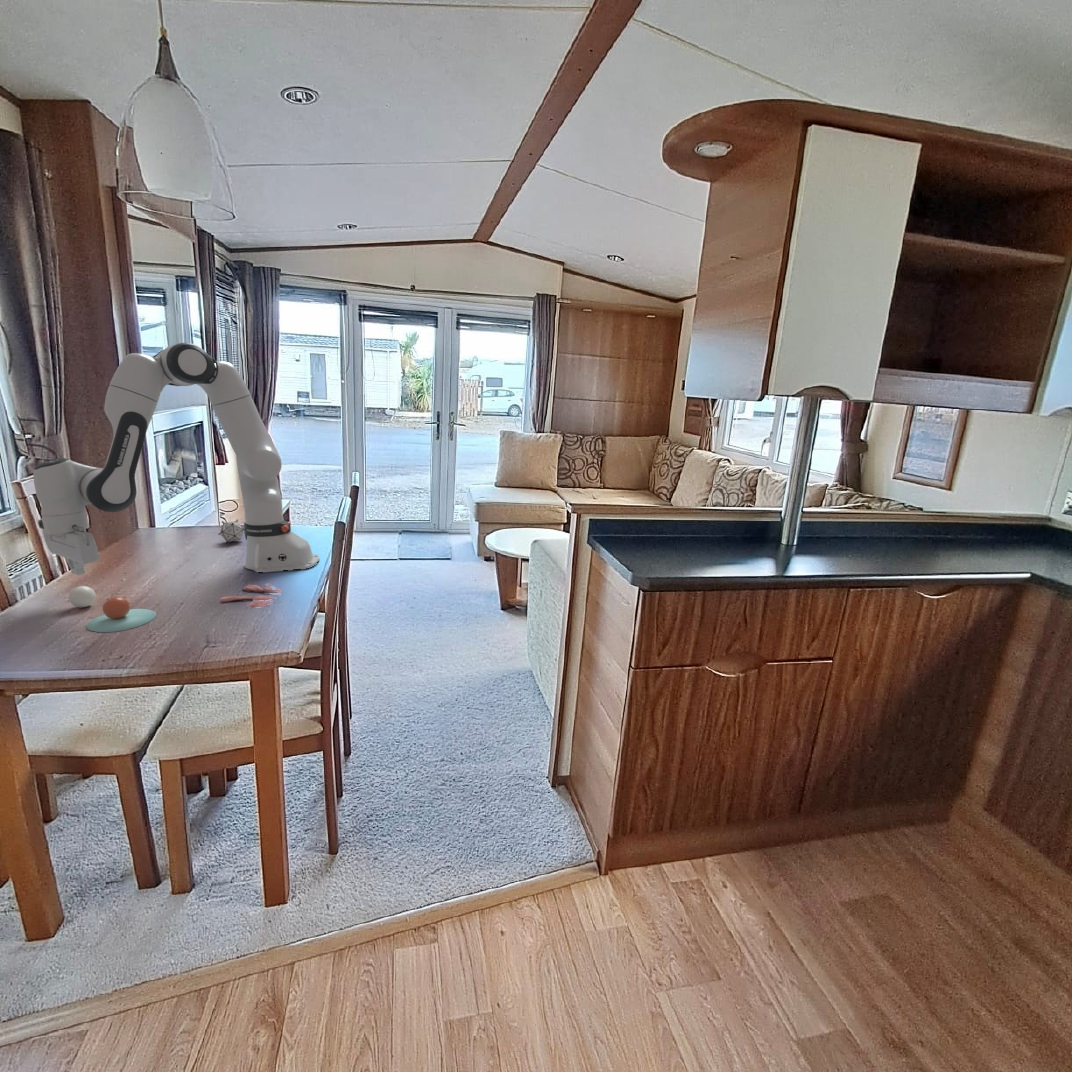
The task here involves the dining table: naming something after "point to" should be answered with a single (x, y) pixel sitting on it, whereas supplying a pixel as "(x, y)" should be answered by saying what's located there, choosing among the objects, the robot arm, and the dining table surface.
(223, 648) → the dining table surface
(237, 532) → the game die
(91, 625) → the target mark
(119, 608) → the brown egg
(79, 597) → the white egg
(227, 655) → the dining table surface
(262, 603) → the pinkish brown flat pieces
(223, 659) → the dining table surface
